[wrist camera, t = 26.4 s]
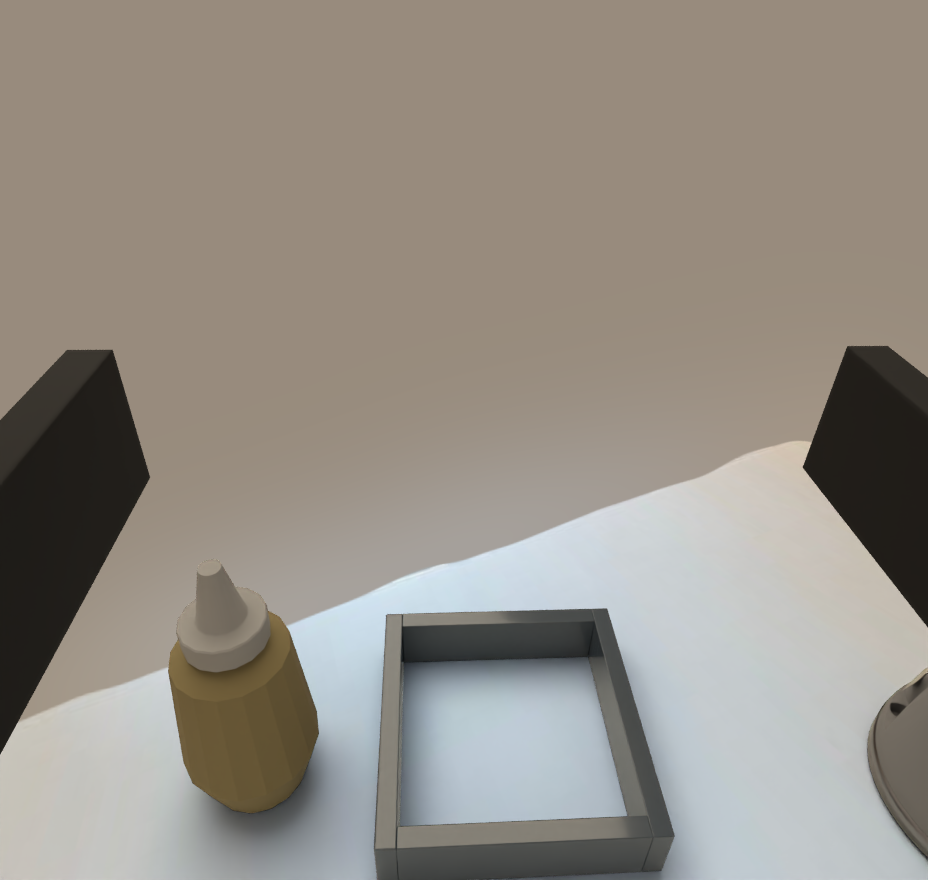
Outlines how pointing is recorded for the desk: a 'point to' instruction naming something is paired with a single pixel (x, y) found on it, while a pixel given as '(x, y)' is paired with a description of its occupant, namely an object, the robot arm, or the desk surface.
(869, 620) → the desk surface
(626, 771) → the grey open square frame
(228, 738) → the squeeze bottle
